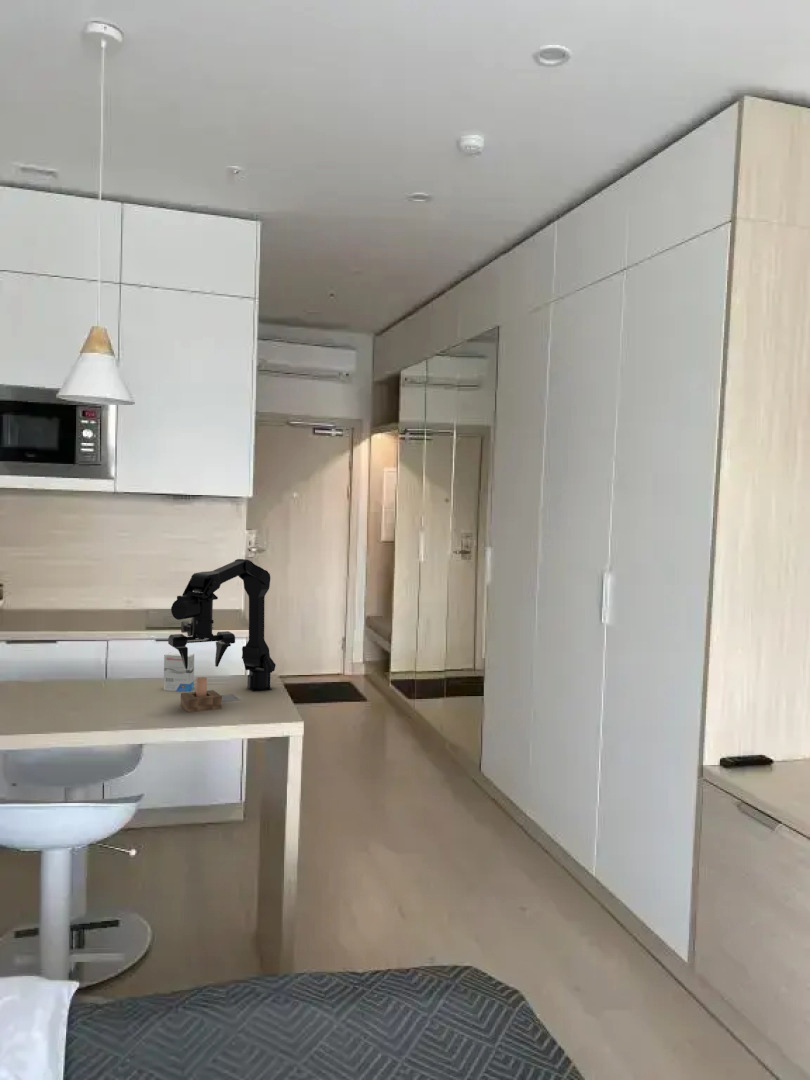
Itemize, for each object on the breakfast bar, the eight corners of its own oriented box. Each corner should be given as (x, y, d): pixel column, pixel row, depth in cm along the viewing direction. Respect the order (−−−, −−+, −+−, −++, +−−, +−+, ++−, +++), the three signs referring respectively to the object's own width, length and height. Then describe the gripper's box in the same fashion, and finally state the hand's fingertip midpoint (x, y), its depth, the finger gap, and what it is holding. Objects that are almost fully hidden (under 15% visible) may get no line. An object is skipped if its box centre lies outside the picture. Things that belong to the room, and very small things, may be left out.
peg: (204, 706, 252) (205, 676, 251) (207, 708, 249) (208, 678, 249) (194, 707, 250) (195, 677, 250) (197, 709, 248) (198, 679, 247)
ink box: (194, 688, 272) (195, 653, 271) (189, 692, 267) (189, 656, 266) (169, 687, 273) (169, 651, 272) (163, 691, 268) (163, 654, 267)
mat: (232, 694, 266) (232, 693, 266) (240, 700, 259) (240, 699, 259) (207, 697, 262) (207, 696, 262) (215, 703, 255) (215, 702, 255)
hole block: (213, 702, 256) (213, 690, 255) (221, 709, 249) (221, 696, 249) (180, 706, 251) (180, 693, 250) (188, 713, 244) (188, 699, 243)
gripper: (224, 610, 259) (223, 660, 260) (163, 613, 250) (162, 664, 251) (236, 615, 250) (235, 667, 251) (174, 618, 240) (172, 672, 241)
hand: (201, 667), depth 249 cm, fingers open, 9 cm apart
